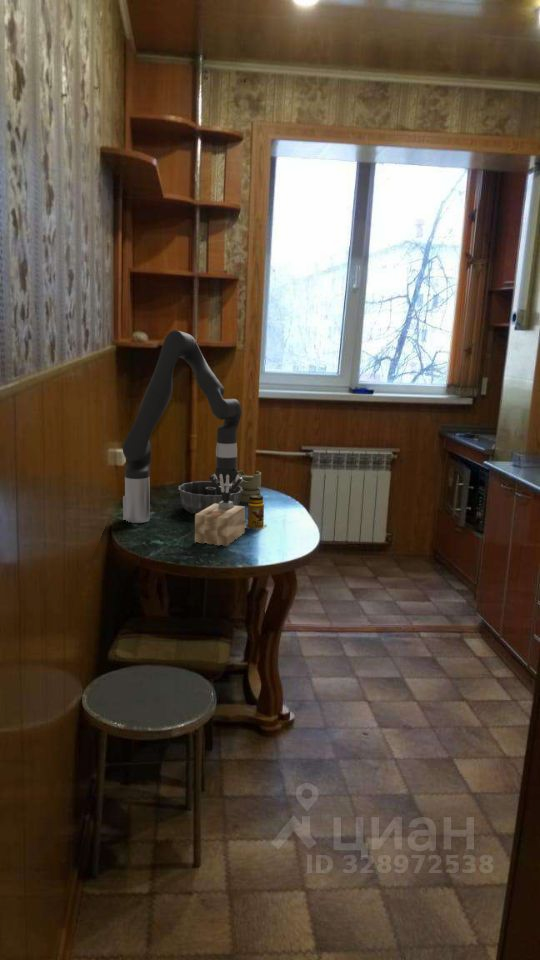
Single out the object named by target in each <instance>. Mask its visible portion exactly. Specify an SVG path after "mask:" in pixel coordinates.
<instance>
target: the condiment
mask: <svg viewBox="0 0 540 960" xmlns="http://www.w3.org/2000/svg"><path fill="white" fill-rule="evenodd" d="M249 498H250V499H249V502H247V505H248V506H247V521H245V529H250V528H253V529H252V530H262V529H264V528H265V527H266V526H267V524H264V523H265V521H264V519H265V515H264V514H265V503H264V496H263V495H251V496H250V497H249ZM246 526H247V527H246ZM248 527H249V528H248Z"/></svg>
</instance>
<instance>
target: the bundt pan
mask: <svg viewBox="0 0 540 960" xmlns="http://www.w3.org/2000/svg"><path fill="white" fill-rule="evenodd" d="M219 483H220V481H219ZM234 484H235V483H232V486H231V488H232V487H233V485H234ZM178 491H179V495H180V496H179V497H180V503H181V506H182V508H183V509H184V510H185V511H187V512H189V513H190V514H197V513H199V512H201V511H202V510H204V509H206V508H208V507H209V506H211V505H213V504H215V503H216V504H219V502H221V501H222V492H221V491H220V490H217V489H216V487H215V486H214V484H213V483H212V482H211V480H209V481H207V480H205V481H203V480H201V481H191V482H186V483H182V484H181V485H178ZM242 492H243V490H242V487H240V486H238V487H237V488H236V490H234V491H232V492H231V499H230V501H233V505H235V506H240V503H241V502H240V499H241V494H242Z"/></svg>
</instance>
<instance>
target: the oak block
mask: <svg viewBox="0 0 540 960" xmlns="http://www.w3.org/2000/svg"><path fill="white" fill-rule="evenodd" d="M211 512H219V513H223V514H222V515H220V516H214V515H208V514H209V513H211ZM245 523H246V506H243V505H239V506H235V505H233V508H231V509H230V510H229V509H220V508H219V504H216V503H215V504H213V505H211V506H209V507H208V508H206V509H204V510H202V511H201V512H199V513H197V514H195V515H194V543H196V542H198V544H204V543H207V544H206V545H212V544H214V546H220V545H223V546H222V547H228V546H229V545H231V544H232V543H233V542H235V541H236V540H237V539H239V538H240V537H241V536H243V535H244V534H245V533H246V530H245V529H246V528H245ZM242 534H243V535H242ZM238 537H239V538H238ZM235 539H236V540H235ZM234 540H235V541H234ZM230 543H231V544H230Z"/></svg>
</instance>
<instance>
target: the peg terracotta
mask: <svg viewBox="0 0 540 960" xmlns="http://www.w3.org/2000/svg"><path fill="white" fill-rule="evenodd" d="M222 514H223V513H219V512H211V513H209V514H208V515H214V516H220V515H222Z"/></svg>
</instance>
